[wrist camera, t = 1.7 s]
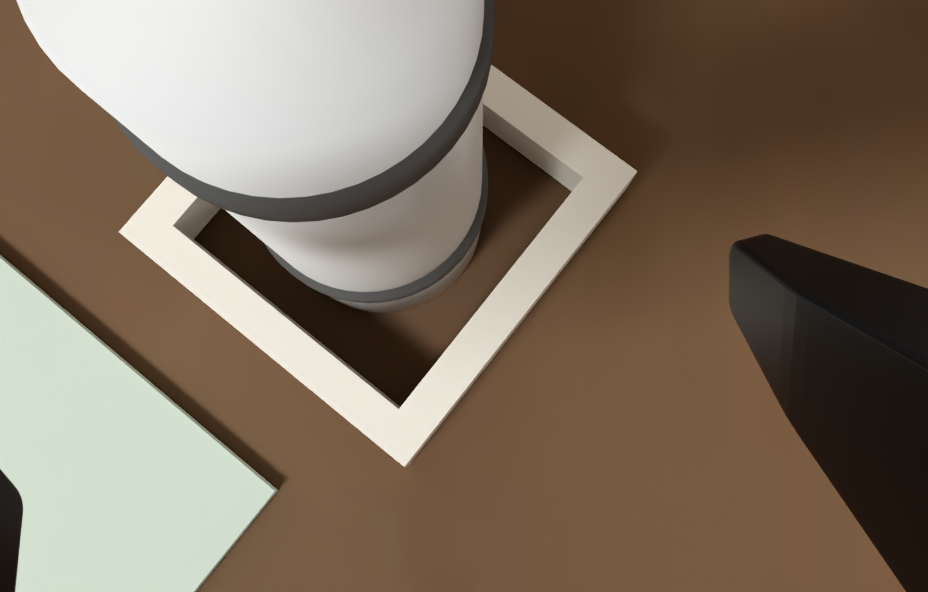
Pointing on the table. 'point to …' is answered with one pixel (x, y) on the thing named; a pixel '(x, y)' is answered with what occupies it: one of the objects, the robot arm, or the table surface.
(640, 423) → the table surface
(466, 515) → the table surface
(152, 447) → the mat
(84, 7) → the grey-banded white cylinder
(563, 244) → the white square frame
